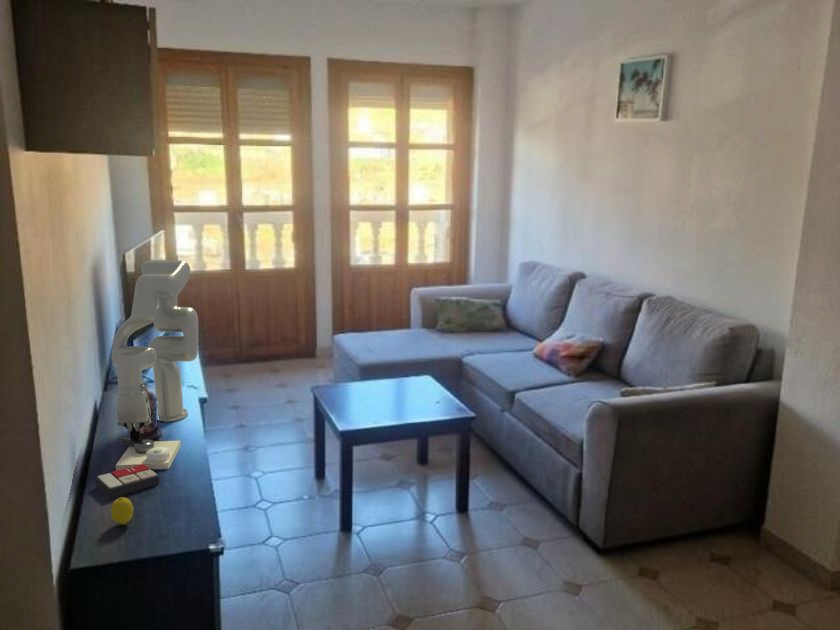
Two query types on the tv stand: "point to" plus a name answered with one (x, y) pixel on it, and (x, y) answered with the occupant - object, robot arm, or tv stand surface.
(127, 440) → the gray scoop
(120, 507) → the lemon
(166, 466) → the base
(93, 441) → the tv stand surface
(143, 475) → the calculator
